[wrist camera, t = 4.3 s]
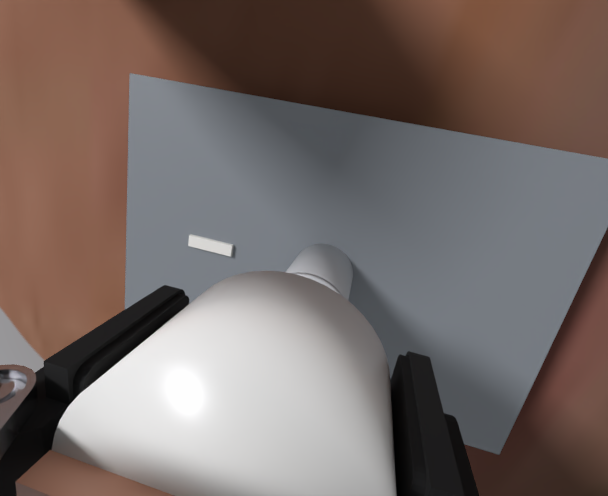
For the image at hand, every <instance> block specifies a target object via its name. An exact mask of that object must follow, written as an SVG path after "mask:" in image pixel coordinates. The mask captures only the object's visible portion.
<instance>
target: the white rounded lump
mask: <svg viewBox="0 0 608 496" xmlns="http://www.w3.org/2000/svg"><path fill="white" fill-rule="evenodd" d="M15 484H16V493H17V496H397V490H396V472H395V454H394V436H393V418H392V399H391V382H390V370H389V365H388V361H387V357H386V353H385V351H384V348H383V346H382V343H381V341H380V339H379V338H378V336H377V334H376V332H375V330H374V329H373V327H372V326H371V325H370V323H369V322H368V321H367V319H366V318H365V317H364V316H363V315H362V313H361V312H360V311H359V310H358V309H357V308H356V307H355V306H354V305H353V304H351V303H350V302H349V301H348V300H346V299H345V298H344V297H343V296H341V295H340V294H338V293H337V292H335V291H334V290H332V289H330V288H329V287H327V286H325V285H323V284H321V283H319V282H316V281H314V280H312V279H309V278H306V277H303V276H300V275H297V274H292V273H286V272H281V271H252V272H247V273H242V274H237V275H234V276H232V277H229V278H226V279H224V280H222V281H220V282H218V283H216V284H214V285H213V286H211V287H210V288H209V289H207V290H206V291H205V292H203V293H202V294H201V295H200V296H198V297H197V298H196V299H195V300H194V301H192V302H191V303H190V304H189V305H187V306H186V307H185V308H184V309H183V310H181V311H180V312H179V313H178V314H176V315H175V316H174V317H173V318H172V319H170V320H169V321H168V322H167V323H166V324H164V325H163V326H162V327H161V328H159V329H158V330H157V331H156V332H155V333H153V334H152V335H151V336H150V337H148V338H147V339H146V340H145V341H144V342H142V343H141V344H140V345H139V346H137V347H136V348H135V349H134V350H133V351H131V352H130V353H129V354H128V355H127V356H125V357H124V358H123V359H122V360H120V361H119V362H118V363H117V364H116V365H114V366H113V367H112V368H111V369H109V370H108V371H107V372H106V373H105V374H103V375H102V376H101V377H100V378H98V379H97V380H96V381H95V382H94V383H92V384H91V385H90V386H89V387H88V388H86V389H85V390H84V391H83V392H81V393H80V394H79V395H78V396H77V397H76V398H75V400H74V401H73V402H72V403H71V404H70V405H69V406H68V408H67V409H66V411H65V413H64V414H63V416H62V417H61V419H60V421H59V424H58V426H57V429H56V432H55V434H54V440H53V445H52V450H49V451H48V452H47V453H46V454H45V455H44V456H43V457H42V458H41V459H40V460H39V461H37V462H36V463H35V464H34V465H33V466H32V467H31V468H30V469H29V470H28V471H27V472H25V473H24V474H23V475H22V476H21V477H20V478H19V479H18V480H17V481H16V482H15Z"/></svg>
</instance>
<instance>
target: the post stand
mask: <svg viewBox="0 0 608 496" xmlns="http://www.w3.org/2000/svg"><path fill="white" fill-rule="evenodd" d="M607 227H608V159H606V158H600V157H595V156H589V155H583V154H578V153H572V152H567V151H561V150H556V149H550V148H544V147H539V146H533V145H528V144H522V143H516V142H511V141H505V140H500V139H494V138H489V137H483V136H477V135H472V134H466V133H461V132H455V131H450V130H444V129H438V128H433V127H427V126H422V125H416V124H410V123H405V122H399V121H394V120H388V119H383V118H377V117H371V116H366V115H360V114H355V113H349V112H343V111H338V110H332V109H327V108H321V107H316V106H310V105H304V104H299V103H293V102H288V101H282V100H276V99H271V98H265V97H260V96H254V95H249V94H243V93H237V92H232V91H226V90H221V89H215V88H209V87H204V86H198V85H193V84H187V83H182V82H176V81H170V80H165V79H159V78H154V77H148V76H142V75H137V74H131V73H130V83H129V131H128V180H127V229H126V278H125V309H127V308H128V307H130V306H132V305H133V304H135V303H136V302H138V301H139V300H141V299H143V298H144V297H146V296H147V295H149V294H150V293H152V292H154V291H155V290H157V289H158V288H160V287H162V286H164V285H168V286H171V287H175V288H179V289H182V290H184V292H185V295H186V296H188V297H189V304H190V303H191V302H192V301H194V300H195V299H196V298H197V297H198V296H200V295H201V294H202V293H203V292H205V291H206V290H207V289H209V288H210V287H211V286H213V285H214V284H216V283H218V282H220V281H222V280H224V279H226V278H229V277H232V276H234V275H237V274H242V273H247V272H252V271H281V272H286V273H292V274H297V275H300V276H303V277H306V278H309V279H312V280H314V281H316V282H319V283H321V284H323V285H325V286H327V287H329V288H330V289H332V290H334V291H335V292H337V293H338V294H340V295H341V296H343V297H344V298H345V299H346V300H348V301H349V302H350V303H351V304H353V305H354V306H355V307H356V308H357V309H358V310H359V311H360V312H361V313H362V315H363V316H364V317H365V318H366V319H367V321H368V322H369V323H370V325H371V326H372V327H373V329H374V330H375V332H376V334H377V336H378V338H379V339H380V341H381V343H382V346H383V348H384V351H385V353H386V357H387V361H388V365H389V370H390V380H391V377H392V374H393V371H394V368H395V364H396V361H397V358H398V356H399V355H400V354H401V355H404V356H406V354H407V352H408V351H410V352H414V353H417V354H421V355H425V356H428V357H430V360H431V364H432V368H433V372H434V376H435V380H436V384H437V388H438V392H439V396H440V400H441V404H442V408H443V412H444V413H446V414H449V415H453V416H454V417H455V418H456V420H457V422H458V425H459V429H460V432H461V436H462V439H463V442H464V444H465V445H469V446H472V447H475V448H478V449H482V450H485V451H488V452H492V453H495V454H498V455H499V454H500V452H501V450H502V448H503V446H504V444H505V442H506V440H507V437H508V435H509V433H510V431H511V429H512V427H513V425H514V423H515V421H516V419H517V416H518V414H519V412H520V410H521V408H522V406H523V404H524V402H525V400H526V398H527V395H528V393H529V391H530V389H531V387H532V385H533V383H534V381H535V379H536V377H537V374H538V372H539V370H540V368H541V366H542V364H543V362H544V360H545V358H546V356H547V353H548V351H549V349H550V347H551V345H552V343H553V341H554V339H555V337H556V335H557V332H558V330H559V328H560V326H561V324H562V322H563V320H564V318H565V316H566V314H567V311H568V309H569V307H570V305H571V303H572V301H573V299H574V297H575V295H576V293H577V290H578V288H579V286H580V284H581V282H582V280H583V278H584V276H585V274H586V272H587V269H588V267H589V265H590V263H591V261H592V259H593V257H594V255H595V253H596V251H597V248H598V246H599V244H600V242H601V240H602V238H603V236H604V234H605V232H606V230H607Z"/></svg>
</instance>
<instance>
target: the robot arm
mask: <svg viewBox="0 0 608 496" xmlns="http://www.w3.org/2000/svg"><path fill="white" fill-rule="evenodd" d="M187 305H189V297H188V296H186V295H185V292H184V290H182V289H179V288H175V287H171V286H168V285H164V286H162V287H160V288H158V289H157V290H155V291H154V292H152V293H150V294H149V295H147V296H146V297H144V298H143V299H141V300H139V301H138V302H136V303H135V304H133V305H132V306H130V307H128V308H127V309H125V310H124V311H122V312H121V313H119V314H117V315H116V316H114V317H113V318H111V319H110V320H108V321H106V322H105V323H103V324H102V325H100V326H98V327H97V328H95V329H94V330H92V331H91V332H89V333H87V334H86V335H84V336H83V337H81V338H80V339H78V340H76V341H75V342H73V343H72V344H70V345H69V346H67V347H65V348H64V349H62V350H61V351H59V352H58V353H56V354H54V355H53V356H51V357H50V358H48V359H46V360H45V361H44V367H43V368H41V369H40V370H38V371H37V372H35V373H34V372H33V371H32V369H29V368H27V367H25V366H20V365H0V496H17V493H16V484H15V482H16V481H17V480H18V479H19V478H20V477H21V476H22V475H23V474H24V473H25V472H27V471H28V470H29V469H30V468H31V467H32V466H33V465H34V464H35V463H36V462H37V461H39V460H40V459H41V458H42V457H43V456H44V455H45V454H46V453H47V452H48V451H49V450H52V445H53V440H54V434H55V432H56V429H57V426H58V424H59V421H60V419H61V417H62V416H63V414H64V413H65V411H66V409H67V408H68V406H69V405H70V404H71V403H72V402H73V401H74V400H75V398H76V397H77V396H78V395H79V394H80V393H81V392H83V391H84V390H85V389H86V388H88V387H89V386H90V385H91V384H92V383H94V382H95V381H96V380H97V379H98V378H100V377H101V376H102V375H103V374H105V373H106V372H107V371H108V370H109V369H111V368H112V367H113V366H114V365H116V364H117V363H118V362H119V361H120V360H122V359H123V358H124V357H125V356H127V355H128V354H129V353H130V352H131V351H133V350H134V349H135V348H136V347H137V346H139V345H140V344H141V343H142V342H144V341H145V340H146V339H147V338H148V337H150V336H151V335H152V334H153V333H155V332H156V331H157V330H158V329H159V328H161V327H162V326H163V325H164V324H166V323H167V322H168V321H169V320H170V319H172V318H173V317H174V316H175V315H176V314H178V313H179V312H180V311H181V310H183V309H184V308H185V307H186V306H187ZM390 382H391V399H392V418H393V436H394V454H395V472H396V490H397V496H479V494H478V490H477V487H476V483H475V480H474V477H473V473H472V470H471V466H470V463H469V460H468V456H467V453H466V449H465V446H464V442H463V439H462V436H461V432H460V429H459V425H458V422H457V420H456V418H455V417H454V416H453V415H449V414H446V413H444V412H443V408H442V404H441V400H440V396H439V392H438V388H437V384H436V380H435V376H434V372H433V368H432V364H431V360H430V357H428V356H425V355H421V354H417V353H414V352H410V351H408V352H407V354H406V356H404V355H401V354H400V355H399V356H398V358H397V361H396V364H395V368H394V371H393V374H392V377H391V380H390Z"/></svg>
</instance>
